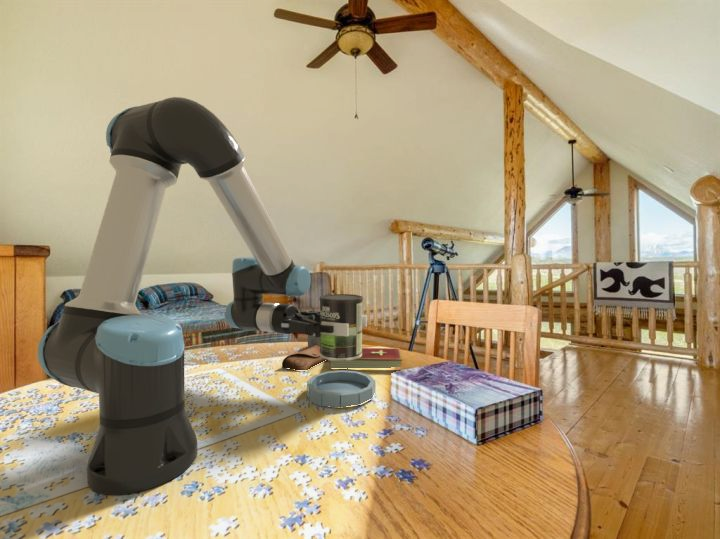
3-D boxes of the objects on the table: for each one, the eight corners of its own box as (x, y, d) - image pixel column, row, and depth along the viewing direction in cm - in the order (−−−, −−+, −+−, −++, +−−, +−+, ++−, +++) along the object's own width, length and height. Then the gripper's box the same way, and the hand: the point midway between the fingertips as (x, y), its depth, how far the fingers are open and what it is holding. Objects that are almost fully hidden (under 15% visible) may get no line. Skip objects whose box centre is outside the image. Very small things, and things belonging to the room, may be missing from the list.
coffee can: (340, 364, 79) (340, 300, 79) (310, 355, 86) (310, 296, 86) (371, 354, 87) (371, 296, 86) (341, 346, 94) (341, 292, 93)
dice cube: (307, 348, 127) (307, 334, 127) (314, 345, 132) (314, 331, 132) (320, 350, 125) (320, 336, 125) (327, 346, 130) (327, 333, 130)
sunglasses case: (305, 372, 102) (295, 351, 103) (288, 381, 105) (278, 360, 106) (337, 356, 118) (328, 337, 119) (321, 364, 121) (313, 346, 122)
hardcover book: (333, 359, 116) (333, 346, 116) (399, 360, 115) (399, 347, 115) (329, 371, 104) (328, 357, 104) (402, 373, 103) (402, 358, 103)
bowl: (384, 403, 82) (384, 390, 82) (313, 412, 77) (313, 398, 77) (363, 379, 97) (363, 368, 97) (303, 385, 92) (303, 373, 92)
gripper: (302, 324, 104) (375, 331, 95) (249, 343, 83) (335, 354, 74) (302, 298, 104) (375, 302, 95) (249, 310, 83) (335, 317, 74)
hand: (357, 325), depth 85 cm, fingers closed on coffee can, 10 cm apart
